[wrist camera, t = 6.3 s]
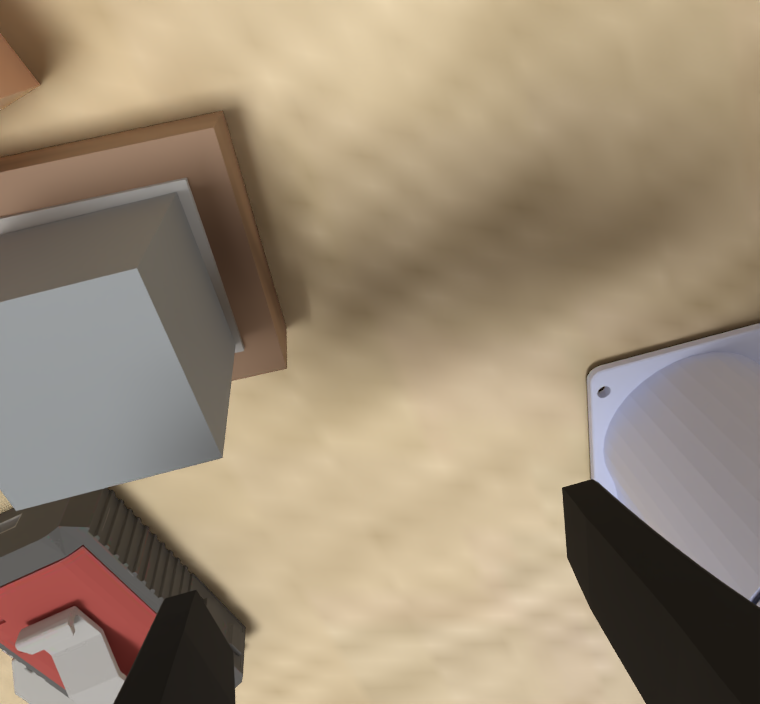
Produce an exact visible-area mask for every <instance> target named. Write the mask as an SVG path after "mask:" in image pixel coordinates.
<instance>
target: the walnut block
mask: <svg viewBox="0 0 760 704" xmlns="http://www.w3.org/2000/svg"><path fill="white" fill-rule="evenodd" d="M173 192H177V194H178V196H179V199H180V201H181V204H182V206H183V209H184V212H185V214H186V217H187V219H188V222H189V225H190V227H191V230H192V232H193V235H194V238H195V240H196V243H197V245H198V248H199V251H200V253H201V256H202V258H203V261H204V264H205V266H206V269H207V271H208V274H209V277H210V279H211V282H212V284H213V287H214V290H215V292H216V295H217V297H218V300H219V303H220V305H221V308H222V310H223V313H224V316H225V318H226V321H227V323H228V326H229V329H230V331H231V334H232V336H233V339H234V342H235V344H236V346H235V354H234V363H233V372H232V380H231V381H233V380H238V379H242V378H247V377H251V376H256V375H260V374H264V373H269V372H273V371H278V370H282V369H287V336H286V325H285V321H284V318H283V315H282V311H281V308H280V304H279V301H278V297H277V294H276V291H275V287H274V284H273V280H272V277H271V274H270V270H269V267H268V263H267V260H266V256H265V253H264V250H263V246H262V243H261V239H260V236H259V233H258V229H257V226H256V222H255V219H254V215H253V212H252V209H251V205H250V202H249V198H248V195H247V192H246V188H245V185H244V181H243V178H242V174H241V171H240V168H239V164H238V161H237V157H236V154H235V151H234V147H233V144H232V140H231V137H230V133H229V130H228V127H227V123H226V120H225V116H224V113H223V111H219V112H214V113H209V114H205V115H200V116H195V117H190V118H185V119H181V120H176V121H171V122H166V123H162V124H157V125H152V126H147V127H143V128H138V129H133V130H128V131H124V132H119V133H114V134H109V135H105V136H100V137H95V138H90V139H86V140H81V141H76V142H71V143H67V144H62V145H57V146H52V147H48V148H43V149H38V150H33V151H29V152H24V153H19V154H14V155H10V156H5V157H0V235H2V234H6V233H10V232H15V231H19V230H23V229H27V228H31V227H35V226H39V225H43V224H47V223H51V222H55V221H59V220H63V219H67V218H72V217H76V216H80V215H84V214H88V213H92V212H96V211H100V210H104V209H108V208H112V207H116V206H120V205H124V204H129V203H133V202H137V201H141V200H145V199H149V198H153V197H157V196H161V195H165V194H169V193H173Z"/></svg>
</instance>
